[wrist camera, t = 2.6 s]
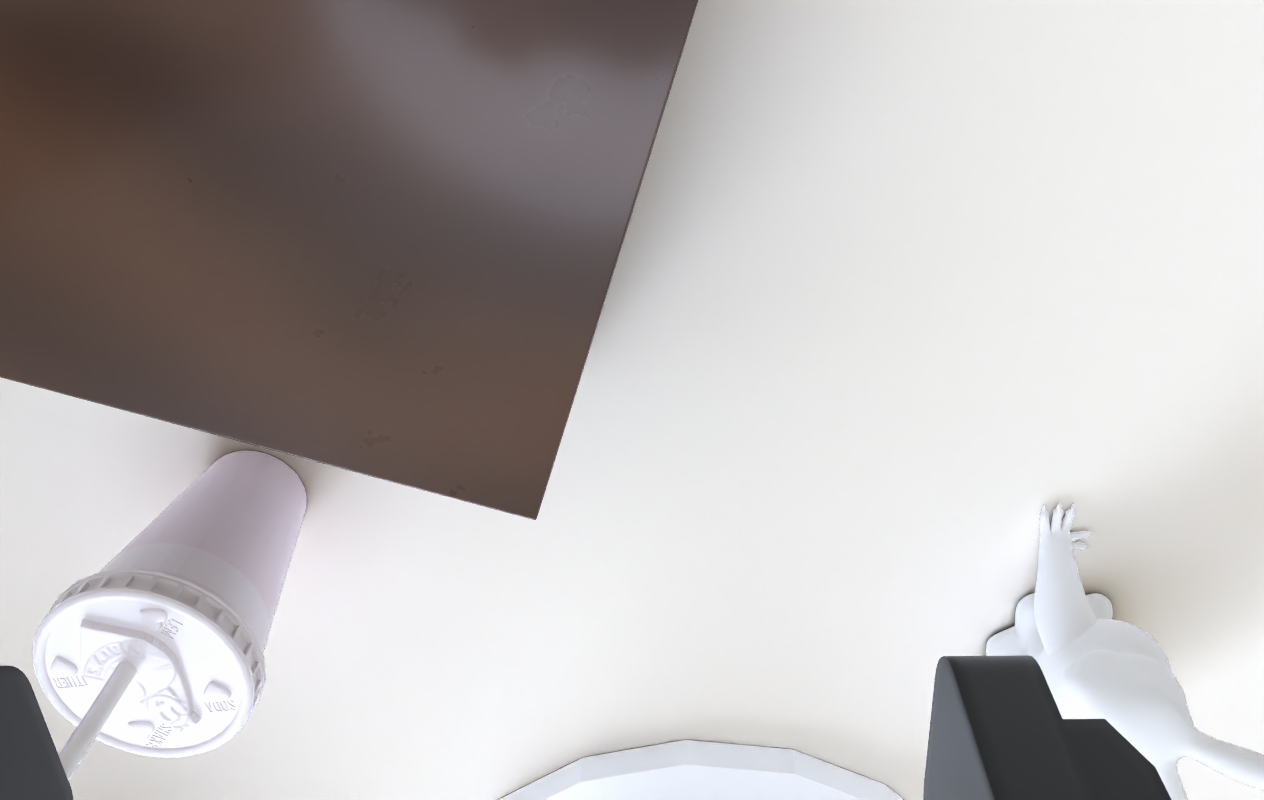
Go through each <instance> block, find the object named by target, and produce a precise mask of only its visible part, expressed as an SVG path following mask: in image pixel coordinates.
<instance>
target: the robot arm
mask: <svg viewBox="0 0 1264 800" xmlns="http://www.w3.org/2000/svg"><path fill="white" fill-rule="evenodd" d="M0 800H73V795H72V790H71V787H70V784H69V781H68V779H67V776H66V774H65V771H64V768H63V766H62V763H61V761H60V758H59V756H58V753H57V751H56V748H55V745H54V743H53V740H52V738H51V735H50V733H49V730H48V728H47V725H46V722H45V720H44V717H43V715H42V712H41V710H40V707H39V705H38V702H37V699H36V697H35V694H34V692H33V689H32V687H31V684H30V682H29V680H28V678H27V677H26V676H25V674H24V673H23V672H22V671H20V670H19V669H18V668H15V667H13V666H0ZM924 800H1172V799H1171V797H1170V795H1169V793H1168V791H1167V789H1166V787H1165V785H1164V783H1163V782H1162V780H1161V778H1160V776H1159V774H1158V772H1157V770H1156V768H1155V766H1154V765H1153V764H1152V763H1150V762H1149V761H1148V760H1147V759H1146V758H1145V757H1144V756H1143V755H1142V754H1141V753H1140V752H1139V751H1138V750H1137V749H1136V748H1135V747H1134V746H1133V745H1132V744H1131V743H1130V742H1129V741H1127V740H1126V739H1125V738H1124V737H1123V736H1122V735H1121V734H1120V733H1119V732H1118V731H1117V730H1116V729H1115V728H1114V727H1113V726H1112V725H1111V724H1110V723H1109V722H1108V721H1107V720H1106V719H1062V716H1061V714H1060V712H1059V709H1058V707H1057V705H1056V702H1055V700H1054V698H1053V695H1052V693H1051V691H1050V688H1049V686H1048V684H1047V681H1046V679H1045V677H1044V674H1043V672H1042V670H1041V668H1040V666H1039V664H1038V662H1037V661H1036V660H1035V659H1034V658H1033V657H1032V656H1029V655H1018V656H943V657H941V658H940V660H939V662H938V664H937V669H936V675H935V683H934V693H933V703H932V712H931V722H930V731H929V741H928V751H927V760H926V770H925V779H924Z"/></svg>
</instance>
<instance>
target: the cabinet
mask: <svg viewBox="0 0 1264 800" xmlns="http://www.w3.org/2000/svg"><path fill="white" fill-rule="evenodd" d="M697 3H698V0H0V377H1V378H5V379H9V380H13V381H16V382H20V383H24V384H28V385H31V386H35V387H39V388H43V389H46V390H50V391H54V392H58V393H61V394H65V395H69V396H73V397H76V398H80V399H84V400H88V401H91V402H95V403H99V404H102V405H106V406H110V407H114V408H117V409H121V410H125V411H129V412H132V413H136V414H140V415H144V416H147V417H151V418H155V419H159V420H162V421H166V422H170V423H174V424H177V425H181V426H185V427H189V428H192V429H196V430H200V431H204V432H207V433H211V434H215V435H218V436H222V437H226V438H230V439H233V440H237V441H241V442H245V443H248V444H252V445H256V446H260V447H263V448H267V449H271V450H275V451H278V452H282V453H286V454H290V455H293V456H297V457H301V458H305V459H308V460H312V461H316V462H320V463H323V464H327V465H331V466H335V467H338V468H342V469H346V470H349V471H353V472H357V473H361V474H364V475H368V476H372V477H376V478H379V479H383V480H387V481H391V482H394V483H398V484H402V485H406V486H409V487H413V488H417V489H421V490H424V491H428V492H432V493H436V494H439V495H443V496H447V497H451V498H454V499H458V500H462V501H465V502H469V503H473V504H477V505H480V506H484V507H488V508H492V509H495V510H499V511H503V512H507V513H510V514H514V515H518V516H522V517H525V518H529V519H533V520H536V519H537V516H538V513H539V509H540V506H541V503H542V500H543V497H544V493H545V490H546V487H547V484H548V481H549V477H550V474H551V471H552V468H553V465H554V461H555V458H556V455H557V452H558V449H559V445H560V442H561V439H562V436H563V433H564V429H565V426H566V423H567V420H568V417H569V413H570V410H571V407H572V404H573V401H574V397H575V394H576V391H577V388H578V385H579V381H580V378H581V375H582V372H583V369H584V365H585V362H586V359H587V356H588V353H589V349H590V346H591V343H592V340H593V337H594V333H595V330H596V327H597V324H598V321H599V317H600V314H601V311H602V308H603V305H604V301H605V298H606V295H607V292H608V289H609V285H610V282H611V279H612V276H613V272H614V269H615V266H616V263H617V260H618V256H619V253H620V250H621V247H622V244H623V240H624V237H625V234H626V231H627V228H628V224H629V221H630V218H631V215H632V212H633V208H634V205H635V202H636V199H637V196H638V192H639V189H640V186H641V183H642V180H643V176H644V173H645V170H646V167H647V164H648V160H649V157H650V154H651V151H652V148H653V144H654V141H655V138H656V135H657V132H658V128H659V125H660V122H661V119H662V116H663V112H664V109H665V106H666V103H667V100H668V96H669V93H670V90H671V87H672V84H673V80H674V77H675V74H676V71H677V68H678V64H679V61H680V58H681V55H682V52H683V48H684V45H685V42H686V39H687V36H688V32H689V29H690V26H691V23H692V19H693V16H694V13H695V10H696V7H697Z"/></svg>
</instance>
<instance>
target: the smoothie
mask: <svg viewBox="0 0 1264 800" xmlns="http://www.w3.org/2000/svg"><path fill="white" fill-rule="evenodd" d="M306 506H307V496H306V491H305V488H304V486H303V483H302V482H301V480H300V478H299V477H298V475H297V474H296V473H295V472H294V471H293V470H292V469H291V468H290V467H289V466H288V465H287V464H285V463H284V462H282V461H281V460H279V459H277V458H276V457H273V456H271V455H269V454H266V453H262V452H258V451H247V450H244V451H236V452H232V453H229V454H226V455H224V456H222V457H221V458H219V459H218V460H217V461H215V462H214V463H213V464H212V465H211V466H210V467H209V468H208V469H207V470H206V471H205V472H204V473H203V474H202V475H201V476H200V477H199V478H197V479H196V480H195V481H194V482H193V483H192V484H191V485H190V486H189V487H188V488H187V489H186V490H185V491H184V492H183V493H182V494H181V495H180V496H179V497H178V498H176V499H175V500H174V501H173V502H172V503H171V504H170V505H169V506H168V507H167V508H166V509H165V510H164V511H163V512H162V513H161V514H160V515H159V516H158V517H157V518H155V519H154V520H153V521H152V522H151V523H150V524H149V525H148V526H147V527H146V528H145V529H144V530H143V531H142V532H141V533H140V534H139V535H138V536H137V537H136V538H134V539H133V540H132V541H131V542H130V543H129V544H128V545H127V546H126V547H125V548H124V549H123V550H122V551H121V552H120V553H119V554H118V555H117V556H116V557H114V558H113V559H112V560H111V561H110V562H109V563H108V564H107V565H106V566H105V567H104V568H103V569H102V570H101V571H100V572H99V573H97V574H94V575H91V576H89V577H86V578H84V579H81V580H79V581H77V582H75V583H74V584H73V585H72V586H70V587H69V588H68V589H67V590H66V591H64V592H63V593H62V594H61V595H59V596H58V598H57V600H56V601H55V603H54V605H53V606H52V608H51V610H50V612H49V613H48V614H47V615H46V617H45V618H44V619H43V621H42V622H41V624H40V625H39V627H38V629H37V631H36V634H35V637H34V642H33V649H32V658H33V665H34V670H35V673H36V676H37V679H38V681H39V684H40V686H41V688H42V690H43V691H44V693H45V695H46V696H47V698H48V699H49V700H50V702H51V703H52V705H53V706H54V707H55V708H56V709H57V710H58V711H59V712H60V713H61V714H62V715H63V716H64V717H65V718H66V719H67V720H68V721H69V722H71V723H72V724H73V725H75V726H76V727H77V728H76V729H75V731H74V732H73V734H72V736H71V737H70V739H69V740H68V742H67V743H66V745H65V746H64V748H63V749H62V751H61V752H60V754H59V755H58V756H59V758H60V761H61V763H62V766H63V768H64V771H65V774H66V776H67V779H68V781H69V780H70V779H71V777H72V775H73V774H74V772H75V771H76V769H77V767H78V766H79V764H80V763H81V761H82V759H83V758H84V756H85V755H86V753H87V751H88V750H89V748H90V747H91V745H92V743H93V742H94V740H95V739H96V740H98V741H100V742H102V743H105V744H107V745H109V746H112V747H114V748H117V749H119V750H123V751H127V752H130V753H134V754H138V755H143V756H151V757H160V758H173V757H186V756H192V755H197V754H201V753H204V752H207V751H210V750H212V749H215V748H217V747H219V746H221V745H223V744H224V743H226V742H227V741H229V740H230V739H231V738H233V737H234V736H235V735H236V734H237V733H238V732H239V731H240V730H241V728H242V727H243V726H244V724H245V723H246V721H247V719H248V717H249V715H250V713H251V711H252V710H253V708H254V707H255V706H256V704H257V703H258V702H259V700H260V697H261V694H262V691H263V687H264V684H265V680H266V676H265V662H264V656H263V652H264V649H265V646H266V643H267V640H268V635H269V632H270V628H271V625H272V621H273V618H274V615H275V611H276V608H277V605H278V601H279V598H280V595H281V591H282V588H283V585H284V581H285V578H286V575H287V571H288V568H289V564H290V561H291V558H292V554H293V551H294V548H295V544H296V541H297V538H298V534H299V531H300V528H301V524H302V521H303V517H304V514H305V511H306Z"/></svg>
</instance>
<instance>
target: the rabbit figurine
mask: <svg viewBox="0 0 1264 800" xmlns="http://www.w3.org/2000/svg"><path fill="white" fill-rule="evenodd" d="M1063 514H1064V511H1063V510H1062V507H1061V504H1058V506H1057V508H1055V509H1054V510H1053V517H1052V521H1051V527H1050V524H1049V514H1048V512H1047V511H1046V507H1045V505H1043V508H1042V511H1041V512H1039V519H1040V540H1039V562H1038V574H1037V581H1036V588H1035V593H1033V594H1030V595H1027V596H1026V597H1024V598H1023V599H1022V600H1021V601H1020V602H1019V603H1018V605H1017V608H1016V612H1015V625H1014V627H1011V628H1009V629H1007V630H1004V631H1002V632H999V633H997V634H996V635H994V636H992V637H991V638H990V639H989V640H988V642H987V646H986V656H1018V655H1029V656H1032V657H1033V658H1034V659H1035V660H1036V661H1037V662H1038V664H1039V666H1040V668H1041V670H1042V672H1043V674H1044V677H1045V679H1046V681H1047V684H1048V686H1049V688H1050V691H1051V693H1052V695H1053V698H1054V700H1055V702H1056V705H1057V707H1058V709H1059V712H1060V714H1061V716H1062V719H1106V720H1107V721H1108V722H1109V723H1110V724H1111V725H1112V726H1113V727H1114V728H1115V729H1116V730H1117V731H1118V732H1119V733H1120V734H1121V735H1122V736H1123V737H1124V738H1125V739H1126V740H1127V741H1129V742H1130V743H1131V744H1132V745H1133V746H1134V747H1135V748H1136V749H1137V750H1138V751H1139V752H1140V753H1141V754H1142V755H1143V756H1144V757H1145V758H1146V759H1147V760H1148V761H1149V762H1150V763H1152V764H1153V765H1154V766H1155V768H1156V770H1157V772H1158V774H1159V776H1160V778H1161V780H1162V782H1163V783H1164V785H1165V787H1166V789H1167V791H1168V793H1169V795H1170V797H1171V799H1172V800H1188V798H1187V796H1186V793H1185V790H1184V787H1183V784H1182V782H1181V779H1180V776H1179V773H1178V770H1177V762H1178V760H1179V759H1181V758H1182V757H1190V758H1192V759H1195V760H1197V761H1199V762H1200V763H1202V764H1204V765H1206V766H1208V767H1210V768H1212V769H1213V770H1215V771H1217V772H1219V773H1221V774H1223V775H1225V776H1227V777H1229V778H1232V779H1234V780H1236V781H1239V782H1241V783H1244V784H1246V785H1249V786H1251V787H1254V788H1257V789H1260V790H1262V791H1264V755H1262V754H1260V753H1258V752H1255V751H1252V750H1249V749H1245V748H1243V747H1239V746H1236V745H1234V744H1231V743H1227V742H1224V741H1221V740H1218V739H1216V738H1213V737H1211V736H1208V735H1206V734H1204V733H1202V732H1200V731H1198V730H1197V728H1196V727H1195V726H1194V723H1193V721H1192V718H1191V715H1190V713H1189V710H1188V706H1187V703H1186V698H1185V694H1184V691H1183V689H1182V687H1181V685H1180V683H1179V682H1178V680H1177V679H1176V677H1175V676H1174V675H1173V673H1172V672H1171V667H1170V663H1169V660H1168V657H1167V656H1166V654H1165V652H1164V651H1163V650H1162V648H1161V647H1160V645H1159V644H1158V643H1157V641H1156V640H1155V639H1154V638H1153V637H1152V636H1151V635H1150V634H1148V633H1147V632H1145V631H1143V630H1141V629H1140V628H1138V627H1136V626H1134V625H1132V624H1130V623H1127V622H1124V621H1119V620H1113V619H1112V618H1113V608H1112V604H1111V602H1110V601H1109V600H1108V598H1107V597H1105V596H1104V595H1102V594H1098V593H1093V594H1089V595H1085V592H1084V589H1083V585H1082V582H1081V578H1080V574H1079V571H1078V567H1077V564H1076V560H1075V557H1074V553H1073V550H1081V551H1083V550H1085V549H1086V548H1089V547H1090V546H1087V545H1086V544H1085V543H1083V542H1073V541H1076V540H1078V539H1084V538H1088V537H1090V535H1091V534H1093V533H1095V532H1089V531H1088V530H1083V531H1079V532H1070V528H1071V525H1072V521H1073V518H1074V516H1075V515H1076V511H1075V507H1074V503H1072V506H1071V509H1068V510H1067V511H1066V514H1065V517H1064V519H1063V521H1062V516H1063Z"/></svg>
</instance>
